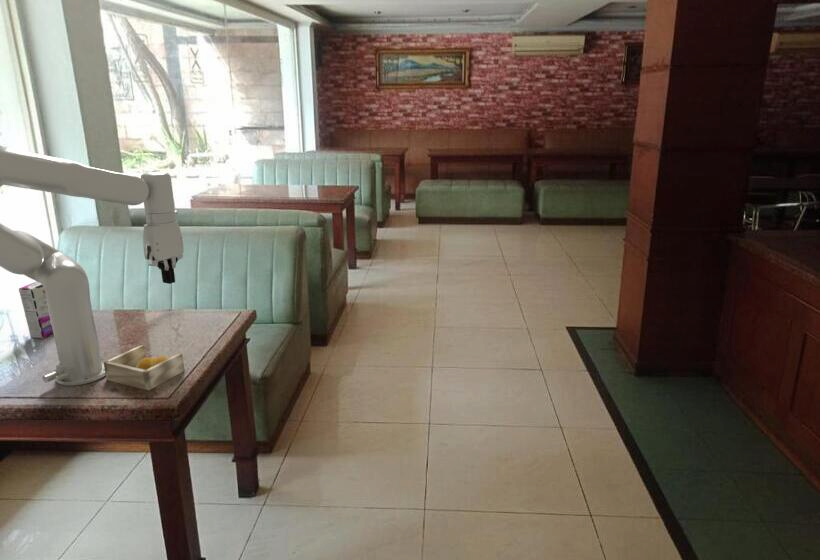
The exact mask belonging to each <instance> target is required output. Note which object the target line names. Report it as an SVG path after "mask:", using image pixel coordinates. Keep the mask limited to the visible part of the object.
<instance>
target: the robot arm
mask: <svg viewBox="0 0 820 560" xmlns="http://www.w3.org/2000/svg"><path fill="white" fill-rule="evenodd" d="M171 177H172V176H171V175H170V173H168V172H166V171H148V172H144V173H133V172H115V171H111V170H107V169H101V168H97V167H92V166H89V165H85V164H82V163H79V162H78V161H75V160H74V161H73V160H70V159H65V158H60V157H55V156H51V155H50V156H49V155H45V154H39V153H34V152H30V151H25V150H24V151H23V150H18V149H14V148H10V147H7V146H6V147H5V146H2V145H1V146H0V188H1V187H2V186H8V187H14V188H21V189H28V190H35V191H40V192H47V193H51V194H56V195H57V194H58V195H64V196H69V197H75V198H85V199H89V200H90V199H91V200H95V201H101V202H106V203H114V204H121V205H126V206H138V205H141V204H143V205H144V214H145V222H146V224H143V230H142V231H143V233H142V234H143V235H142V239H143V240H142V242H143V243H142V244H143V255H144V258H145V260H148V266H151V267H157V268H158V270H160V271H161V278H162V283H164V284H170V285H171V284H174V283H176V277H175V269H176V266H177V263H178V261H179V260H181V259H183V258H184V255H183V253H184V250H185V249H184V240H183V236H182V232H181V228H180V224H179V221H178V220H177V217H176V216H178V211H177V210H176V208H175V199H174V191H173V183H172V178H171ZM0 267H1V268H2V269H4V270H5V271H7V272H9V273H11V274H15V275H24V276H26V277H28V278H29V279H31V280H34V282H39V283H41V284H42V285H43V287H44V290H45V293H46V299H47V305H48V311H49V316H50V321H51V325H52V329H53V334H52V335H53V338H54V342H55V346H56V347H55V348H56V351H57V357H58V362H59V363H58V364H56V365H55V368H56V369H54V370H53V372H49V373H46V374H45V375H43V376H42V380H43V382H44V383H50V382H52V381H55V382H56V383H58V384H59V385H61V386H81V385H85V384H90V383H93V382H96V381H98V380H100V379H103V378H104V377H106V374H105V368H104V363H103V362H104V361H103V360H102V354H101V349H100V344H99V339H98V334H97V329H96V324H95V319H94V317H95V316H94V313H93V309H92V307H93V306H92V303H91V302H92V300H91V292H90V282H89V277H88V275H87V273H86V270H85V269H84V268H83V267H82V266H81V265H80V263H78V262H77V261H76V260H74V259H73V258H72V257H71V256H69V255H67V254H66V253H64V252H62V251H60V250H58V249H57V248H55V247H53V246H51V245H50V244H47V243H45V242H44V241H42V240H40V239H38V238H37V237H35V236H33V235H31V234H29V233H27V232H24V231H21V230H13V229H11V228H9V227H7V226H6V225H4V224H3V223H1V222H0Z"/></svg>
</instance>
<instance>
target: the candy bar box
mask: <svg viewBox="0 0 820 560" xmlns="http://www.w3.org/2000/svg"><path fill="white" fill-rule="evenodd" d="M18 292H19V295H20V299H21V304H22V308H23V312H24V315H25V319H26V324H27V327H28V332H29V336H30V338H31V339H46V338H47V337H50V336H51V335H54V334H53V329H52V325H51V321H50V316H49V311H48V305H47V299H46V293H45V290H44V287H43V285H42V284H41V283H39V282H37V281H34V282H31V283H30V284H27V285H24V286H21V287H20V288H18Z"/></svg>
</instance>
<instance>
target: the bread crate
mask: <svg viewBox="0 0 820 560" xmlns="http://www.w3.org/2000/svg"><path fill="white" fill-rule="evenodd" d="M143 358H147V356H146V350H145V345H143V344H140V345H138V346H136V347H134V348H131V349H130V350H129V349H128V350H127V351H124V352H123V353H121V354H119V355H116V356H114V357H112V358H110V359H108V360H105V361H102V362H103V363H104V368H105V374H106V375H105V378H106V381H110V382H113V383H117V384H121V385H126V386H130V387H134V388H137V389H140V390H141V389H142V390H146V391H150V390H152V389H154V388H156V387H158V386H160V385H162V384H163V383H165V382H167V381H168V380H171V379H172V378H174V377H175V376H178V375H181V374H182V373H183V372H185V370H186V369H185V364H184V357H183V353H180V352H178V353H177V354H174V355H173V356H171V357H168V358H169V359H167V360H165V361H163V362H161V363H159V364H157V365H155V366H153V367H151V368H149V369H147V370H144V369H140V368H136V366H137V364H138V362H139V361H140V360H141V359H143Z"/></svg>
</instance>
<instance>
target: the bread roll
mask: <svg viewBox="0 0 820 560" xmlns="http://www.w3.org/2000/svg"><path fill="white" fill-rule="evenodd" d="M169 358H170V357H167V356H156V357H154V358H152V357H146V358H143V359H141V360H140V361H139V362H138V364H137V366H136V368H140V369H144V370H147V369H149V368H151V367H153V366H155V365H157V364H159V363H161V362H163V361H165V360H167V359H169Z"/></svg>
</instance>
